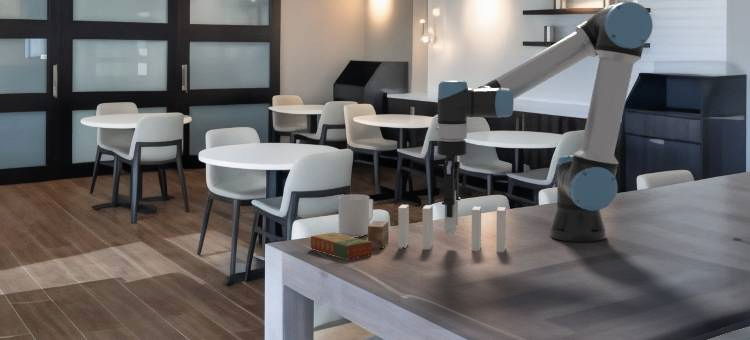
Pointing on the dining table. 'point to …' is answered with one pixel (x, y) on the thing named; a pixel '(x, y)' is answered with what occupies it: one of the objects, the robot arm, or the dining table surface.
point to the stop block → (378, 233)
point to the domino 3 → (452, 231)
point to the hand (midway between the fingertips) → (451, 226)
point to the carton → (341, 245)
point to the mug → (354, 214)
